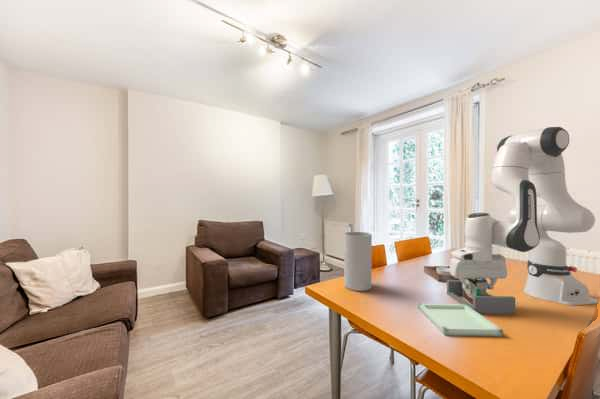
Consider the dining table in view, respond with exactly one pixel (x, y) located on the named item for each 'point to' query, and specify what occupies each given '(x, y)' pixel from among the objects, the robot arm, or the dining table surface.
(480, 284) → the food container
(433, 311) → the tray
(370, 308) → the dining table surface
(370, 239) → the cylinder vase
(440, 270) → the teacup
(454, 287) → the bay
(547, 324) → the dining table surface
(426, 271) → the shallow brown square box
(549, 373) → the dining table surface
